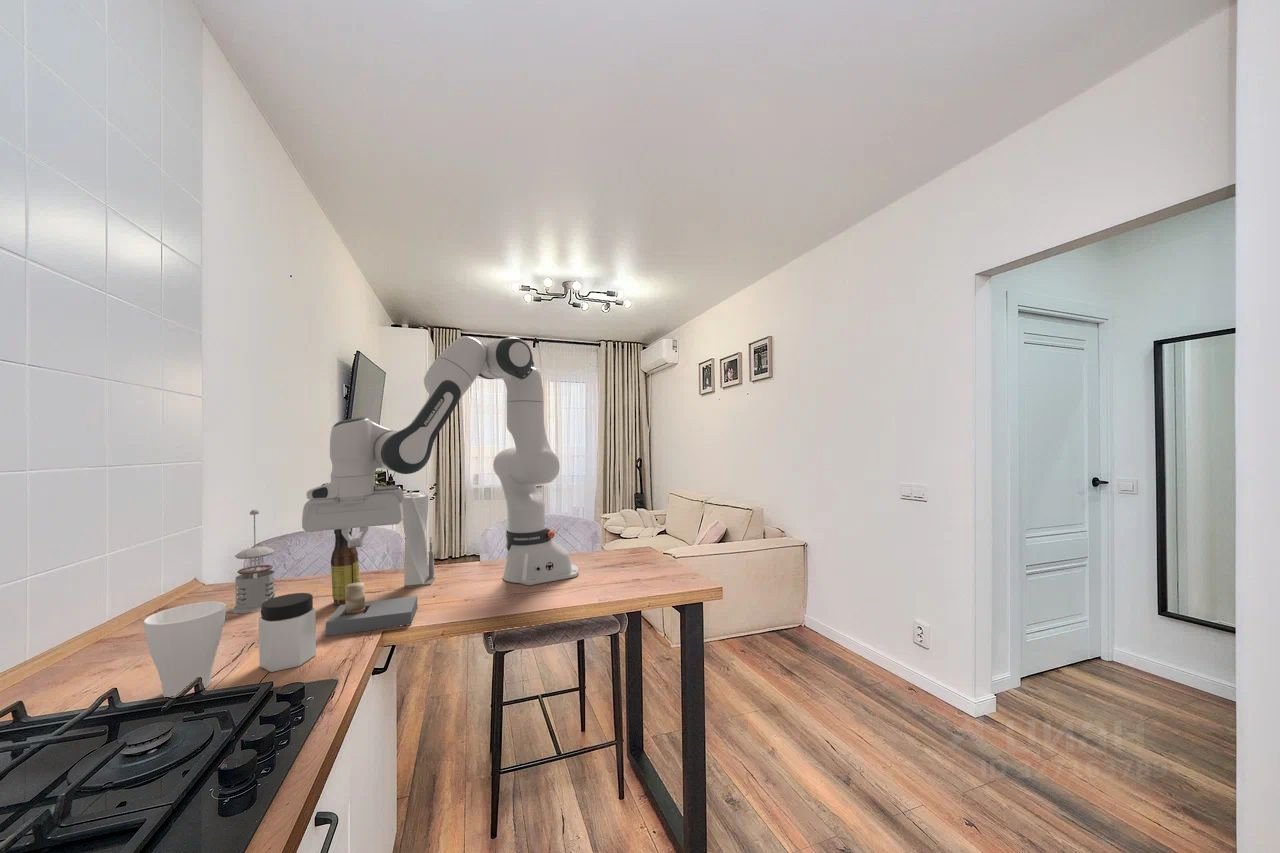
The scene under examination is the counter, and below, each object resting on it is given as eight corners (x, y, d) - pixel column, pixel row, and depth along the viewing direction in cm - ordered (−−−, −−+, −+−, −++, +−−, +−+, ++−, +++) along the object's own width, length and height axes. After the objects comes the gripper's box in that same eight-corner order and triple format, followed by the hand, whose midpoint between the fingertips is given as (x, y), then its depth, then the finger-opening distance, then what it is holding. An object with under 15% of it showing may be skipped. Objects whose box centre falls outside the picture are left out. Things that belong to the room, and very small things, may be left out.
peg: (366, 619, 113) (366, 581, 113) (363, 625, 110) (362, 586, 110) (348, 621, 112) (347, 583, 112) (343, 628, 108) (343, 588, 108)
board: (417, 607, 120) (417, 596, 120) (411, 624, 110) (411, 611, 110) (340, 617, 115) (340, 605, 115) (325, 636, 104) (325, 622, 104)
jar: (284, 650, 98) (284, 592, 98) (324, 650, 98) (323, 591, 98) (248, 673, 89) (247, 608, 89) (292, 672, 89) (291, 608, 89)
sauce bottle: (352, 596, 130) (351, 523, 130) (365, 600, 126) (364, 525, 126) (326, 604, 124) (325, 527, 124) (339, 608, 121) (338, 529, 121)
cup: (136, 714, 76) (135, 630, 76) (152, 686, 85) (151, 610, 85) (223, 692, 82) (222, 614, 82) (230, 668, 91) (229, 597, 91)
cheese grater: (429, 586, 136) (428, 488, 137) (398, 589, 135) (397, 490, 135) (435, 577, 145) (433, 485, 145) (406, 580, 143) (404, 486, 143)
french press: (230, 616, 116) (228, 514, 116) (231, 603, 125) (230, 508, 125) (280, 606, 123) (279, 509, 123) (278, 595, 132) (277, 504, 132)
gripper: (404, 482, 117) (406, 538, 117) (307, 489, 111) (310, 548, 111) (400, 485, 111) (402, 544, 111) (298, 492, 105) (300, 555, 105)
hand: (355, 546), depth 111 cm, fingers closed
